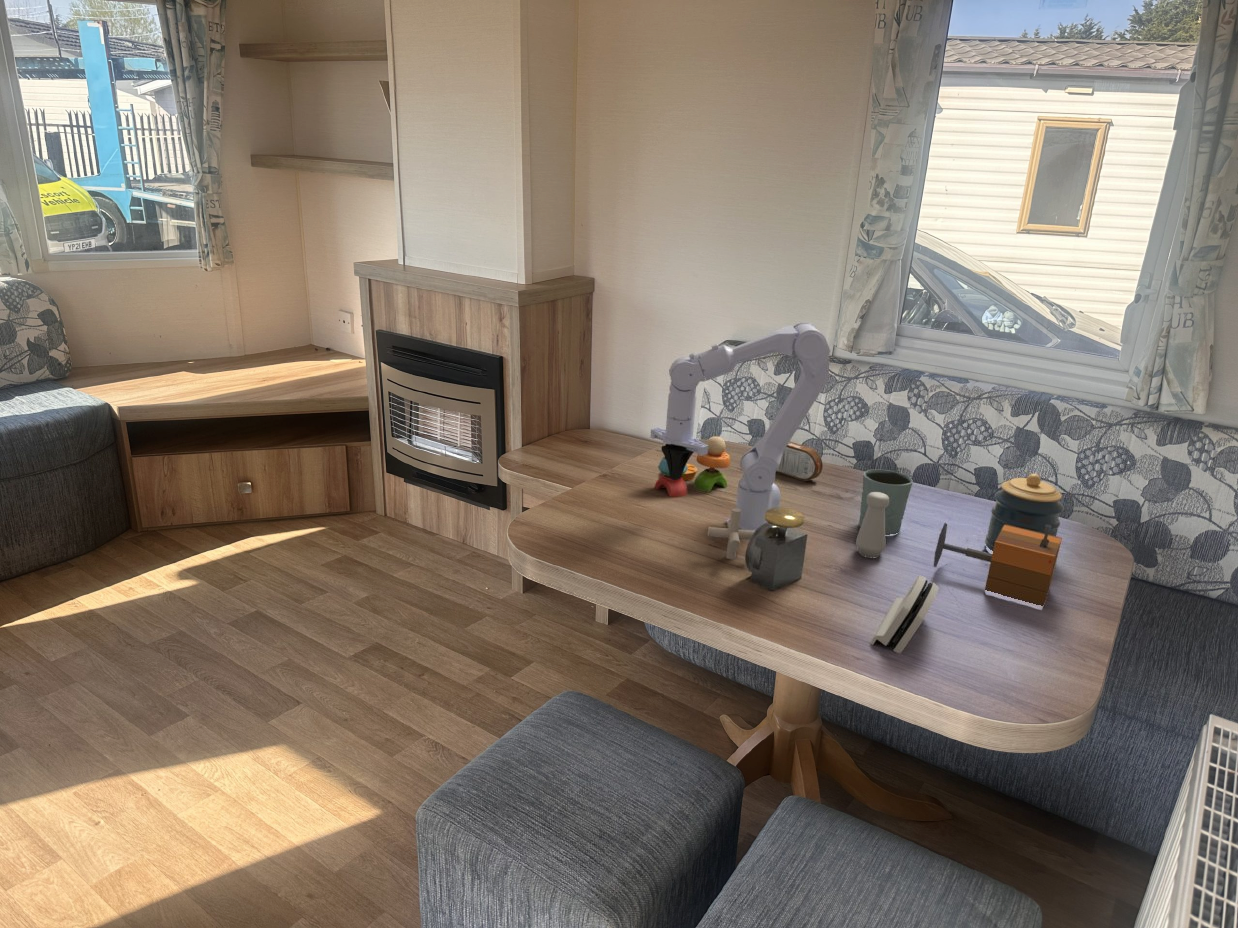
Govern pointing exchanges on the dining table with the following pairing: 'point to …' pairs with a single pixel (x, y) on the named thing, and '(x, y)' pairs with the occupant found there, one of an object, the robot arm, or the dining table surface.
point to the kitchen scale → (777, 549)
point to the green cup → (894, 488)
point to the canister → (1025, 507)
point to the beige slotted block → (906, 615)
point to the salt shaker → (873, 526)
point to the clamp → (1015, 562)
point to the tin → (800, 462)
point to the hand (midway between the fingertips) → (675, 478)
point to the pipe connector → (732, 533)
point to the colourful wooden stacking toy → (705, 478)
